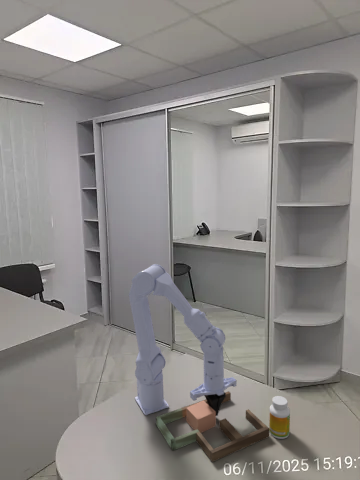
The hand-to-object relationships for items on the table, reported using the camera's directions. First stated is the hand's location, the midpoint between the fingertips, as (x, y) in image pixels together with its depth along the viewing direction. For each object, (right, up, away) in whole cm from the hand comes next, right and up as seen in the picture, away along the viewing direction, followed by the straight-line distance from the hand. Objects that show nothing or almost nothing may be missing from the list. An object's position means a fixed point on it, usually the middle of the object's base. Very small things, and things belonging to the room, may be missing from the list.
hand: (214, 414), depth 102 cm
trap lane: (-1, -2, -5) cm, 6 cm away
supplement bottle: (+17, -2, -6) cm, 18 cm away
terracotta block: (-4, -2, -2) cm, 5 cm away
